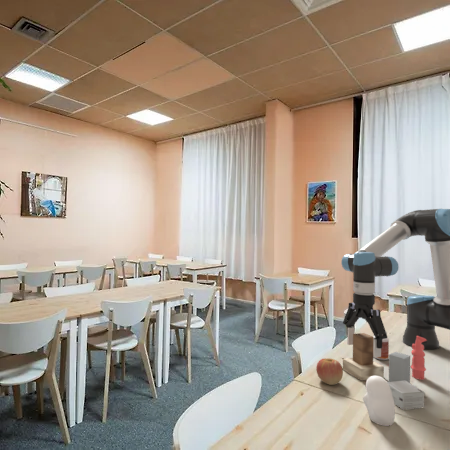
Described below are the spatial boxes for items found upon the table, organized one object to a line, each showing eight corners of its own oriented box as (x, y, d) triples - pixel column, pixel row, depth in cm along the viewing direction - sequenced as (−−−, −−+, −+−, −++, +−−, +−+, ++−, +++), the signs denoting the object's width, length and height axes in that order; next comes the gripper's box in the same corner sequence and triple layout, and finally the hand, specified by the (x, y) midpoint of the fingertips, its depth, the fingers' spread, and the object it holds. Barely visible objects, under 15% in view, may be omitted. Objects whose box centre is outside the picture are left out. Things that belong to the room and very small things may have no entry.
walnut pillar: (363, 359, 128) (363, 332, 128) (373, 364, 123) (373, 336, 124) (352, 360, 126) (353, 334, 127) (362, 365, 122) (362, 338, 122)
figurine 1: (360, 413, 97) (361, 371, 97) (385, 412, 97) (386, 370, 97) (373, 427, 89) (374, 382, 90) (400, 426, 90) (401, 381, 90)
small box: (384, 397, 107) (384, 381, 107) (405, 396, 108) (406, 379, 108) (402, 410, 99) (402, 393, 99) (424, 408, 100) (425, 391, 101)
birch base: (363, 366, 131) (364, 356, 131) (383, 377, 122) (383, 366, 122) (342, 369, 128) (342, 358, 128) (361, 380, 118) (361, 369, 118)
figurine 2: (424, 375, 124) (425, 334, 124) (428, 381, 119) (428, 338, 120) (409, 373, 126) (409, 333, 126) (411, 378, 121) (412, 337, 121)
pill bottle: (391, 358, 140) (391, 332, 141) (383, 361, 137) (383, 334, 137) (377, 354, 146) (378, 328, 146) (369, 356, 142) (369, 330, 143)
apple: (329, 390, 110) (329, 365, 111) (310, 379, 118) (311, 356, 118) (348, 385, 114) (348, 361, 115) (329, 375, 122) (329, 353, 122)
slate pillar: (395, 379, 120) (395, 351, 120) (410, 384, 116) (410, 355, 116) (388, 383, 117) (389, 354, 117) (403, 388, 113) (404, 358, 113)
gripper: (334, 288, 136) (333, 340, 136) (381, 300, 112) (381, 364, 112) (349, 287, 138) (349, 339, 138) (398, 299, 115) (398, 361, 114)
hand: (363, 350), depth 125 cm, fingers open, 13 cm apart
